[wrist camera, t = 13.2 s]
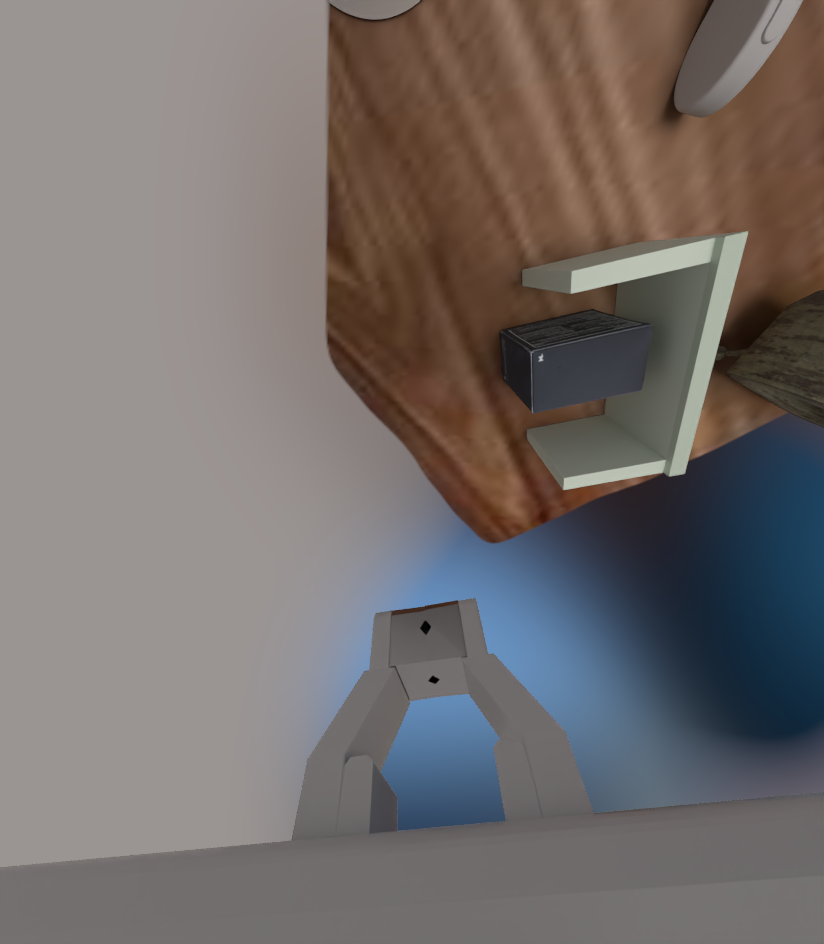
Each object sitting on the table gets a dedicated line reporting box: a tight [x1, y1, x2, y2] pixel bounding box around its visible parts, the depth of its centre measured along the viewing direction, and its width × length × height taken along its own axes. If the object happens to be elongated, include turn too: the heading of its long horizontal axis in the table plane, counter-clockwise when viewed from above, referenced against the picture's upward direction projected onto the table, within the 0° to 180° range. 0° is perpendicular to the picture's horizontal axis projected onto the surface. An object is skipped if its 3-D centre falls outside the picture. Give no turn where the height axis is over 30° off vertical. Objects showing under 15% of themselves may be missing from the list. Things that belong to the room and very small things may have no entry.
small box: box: [500, 309, 653, 413], centre depth 35 cm, size 11×6×10 cm, turn 102°
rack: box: [522, 231, 748, 490], centre depth 34 cm, size 20×12×13 cm, turn 12°
